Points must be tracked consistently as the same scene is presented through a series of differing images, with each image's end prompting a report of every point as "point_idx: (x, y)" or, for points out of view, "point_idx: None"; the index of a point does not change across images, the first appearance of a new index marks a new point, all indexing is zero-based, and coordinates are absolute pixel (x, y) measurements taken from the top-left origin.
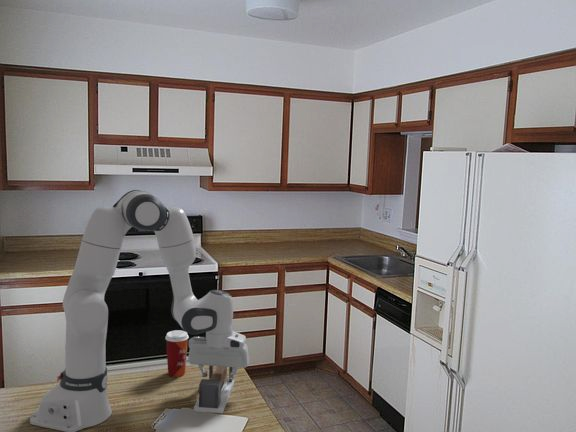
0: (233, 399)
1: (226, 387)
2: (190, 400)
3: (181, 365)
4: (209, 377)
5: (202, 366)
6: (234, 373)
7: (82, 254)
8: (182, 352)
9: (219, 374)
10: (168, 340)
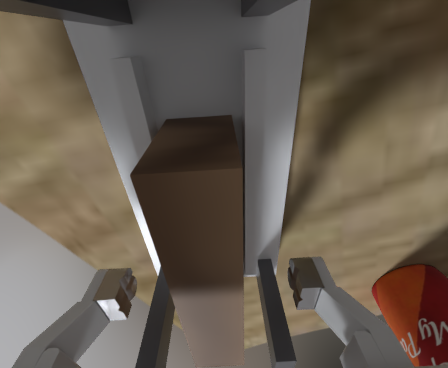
0: (93, 145)
1: None
2: (348, 77)
3: (424, 321)
4: (272, 273)
5: (363, 346)
6: (70, 312)
7: None
8: None
9: (188, 286)
10: None
